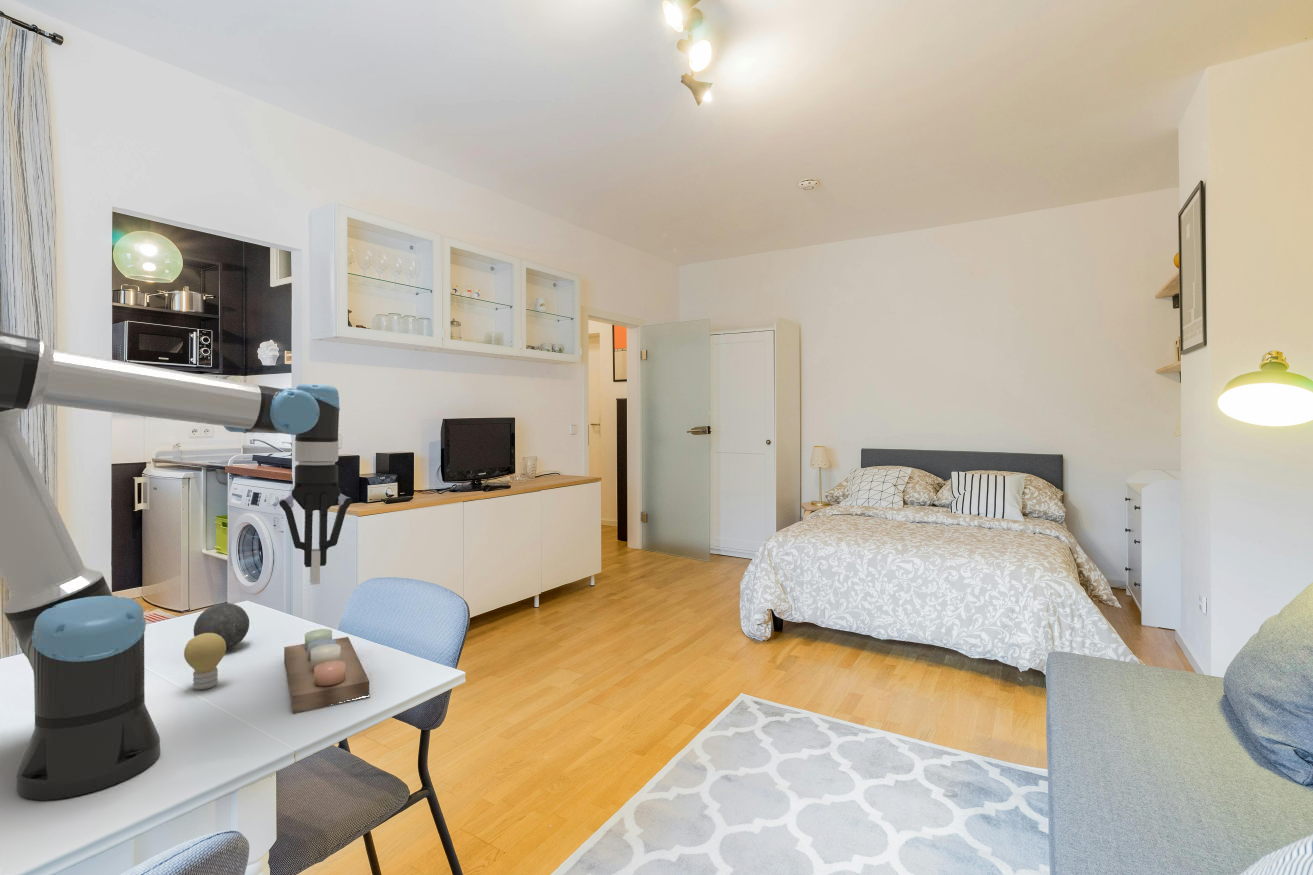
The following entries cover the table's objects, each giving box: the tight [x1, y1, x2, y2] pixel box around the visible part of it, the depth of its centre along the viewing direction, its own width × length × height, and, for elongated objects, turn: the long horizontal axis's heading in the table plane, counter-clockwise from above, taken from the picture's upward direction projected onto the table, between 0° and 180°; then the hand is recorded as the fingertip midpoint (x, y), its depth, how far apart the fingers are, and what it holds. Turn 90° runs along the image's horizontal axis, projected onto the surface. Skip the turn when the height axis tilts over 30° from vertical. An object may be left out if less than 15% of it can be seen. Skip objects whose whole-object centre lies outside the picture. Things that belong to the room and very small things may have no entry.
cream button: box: [311, 644, 341, 667], centre depth 120 cm, size 5×5×3 cm
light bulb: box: [183, 633, 227, 691], centre depth 118 cm, size 6×6×10 cm
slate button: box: [308, 638, 336, 660], centre depth 126 cm, size 5×5×3 cm
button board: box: [283, 636, 370, 714], centre depth 123 cm, size 12×28×3 cm, turn 33°
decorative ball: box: [193, 602, 250, 651], centre depth 138 cm, size 10×10×10 cm
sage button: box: [304, 628, 333, 649], centre depth 131 cm, size 5×5×3 cm
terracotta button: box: [314, 661, 345, 686], centre depth 114 cm, size 5×5×3 cm
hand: (314, 582), depth 125 cm, fingers closed
